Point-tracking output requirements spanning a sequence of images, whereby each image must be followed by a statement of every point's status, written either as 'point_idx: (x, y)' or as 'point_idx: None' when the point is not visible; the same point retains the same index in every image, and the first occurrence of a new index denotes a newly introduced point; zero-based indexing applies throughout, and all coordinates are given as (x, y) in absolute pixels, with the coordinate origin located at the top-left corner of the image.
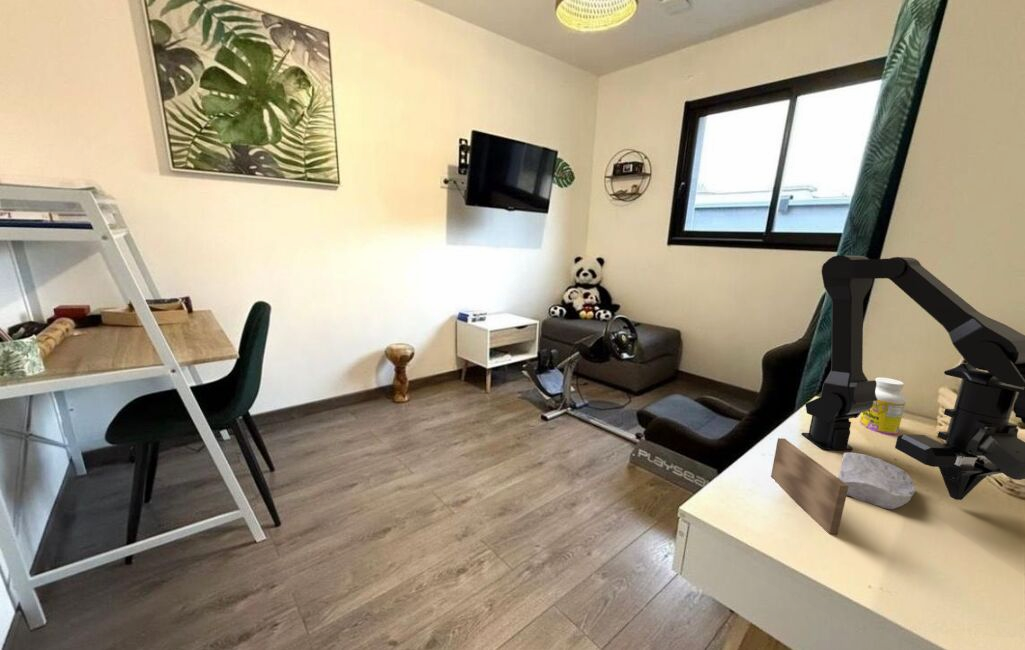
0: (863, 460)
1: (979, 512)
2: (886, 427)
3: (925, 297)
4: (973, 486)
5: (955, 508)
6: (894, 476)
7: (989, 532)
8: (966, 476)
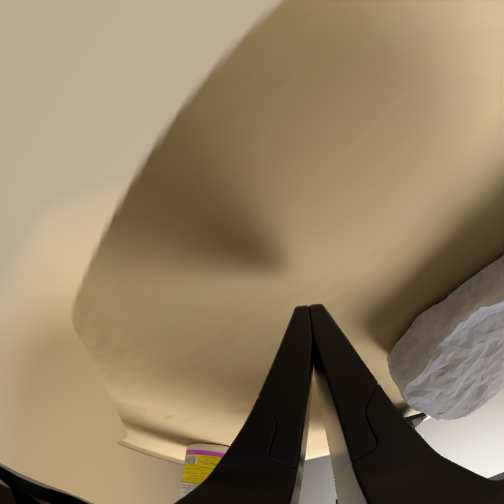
0: (489, 394)
1: (217, 260)
2: (214, 465)
3: None
4: (277, 386)
5: (309, 269)
6: (480, 360)
7: (325, 95)
8: (383, 451)
